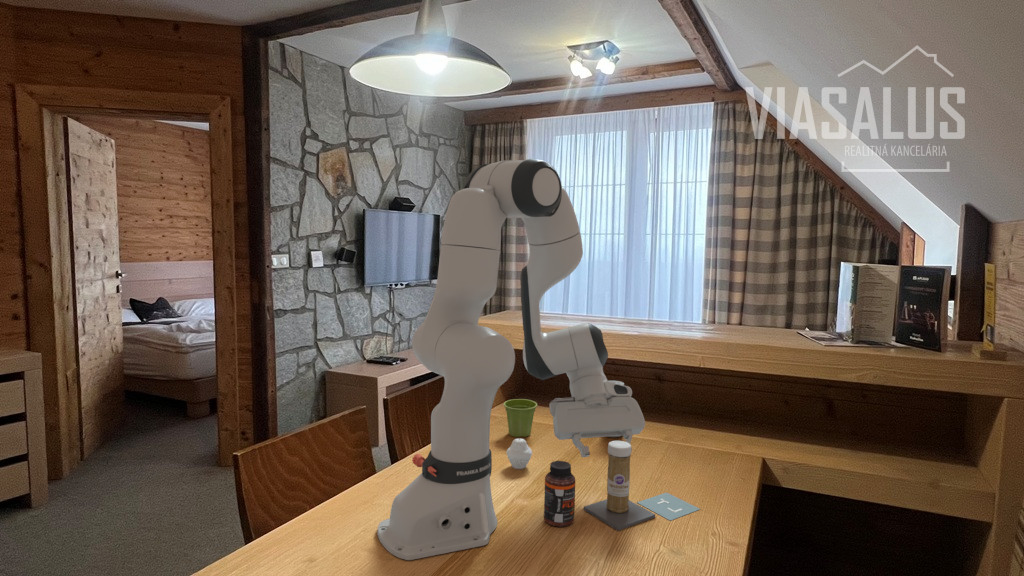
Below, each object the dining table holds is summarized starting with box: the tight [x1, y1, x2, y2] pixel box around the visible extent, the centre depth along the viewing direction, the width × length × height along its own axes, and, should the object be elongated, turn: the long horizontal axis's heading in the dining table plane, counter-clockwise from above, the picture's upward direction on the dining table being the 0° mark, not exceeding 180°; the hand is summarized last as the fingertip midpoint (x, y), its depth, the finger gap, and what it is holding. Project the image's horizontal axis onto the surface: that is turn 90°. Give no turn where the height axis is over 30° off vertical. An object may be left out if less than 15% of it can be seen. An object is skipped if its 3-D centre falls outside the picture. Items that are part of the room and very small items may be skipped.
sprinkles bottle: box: [606, 440, 632, 513], centre depth 115 cm, size 5×5×14 cm
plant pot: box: [503, 398, 538, 438], centre depth 160 cm, size 9×9×9 cm
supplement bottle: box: [543, 460, 576, 528], centre depth 111 cm, size 6×6×11 cm
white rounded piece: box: [506, 437, 533, 470], centre depth 137 cm, size 6×6×7 cm
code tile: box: [636, 492, 701, 521], centre depth 118 cm, size 9×9×1 cm
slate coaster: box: [583, 498, 656, 532], centre depth 115 cm, size 10×10×1 cm
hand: (607, 454), depth 121 cm, fingers open, 8 cm apart
